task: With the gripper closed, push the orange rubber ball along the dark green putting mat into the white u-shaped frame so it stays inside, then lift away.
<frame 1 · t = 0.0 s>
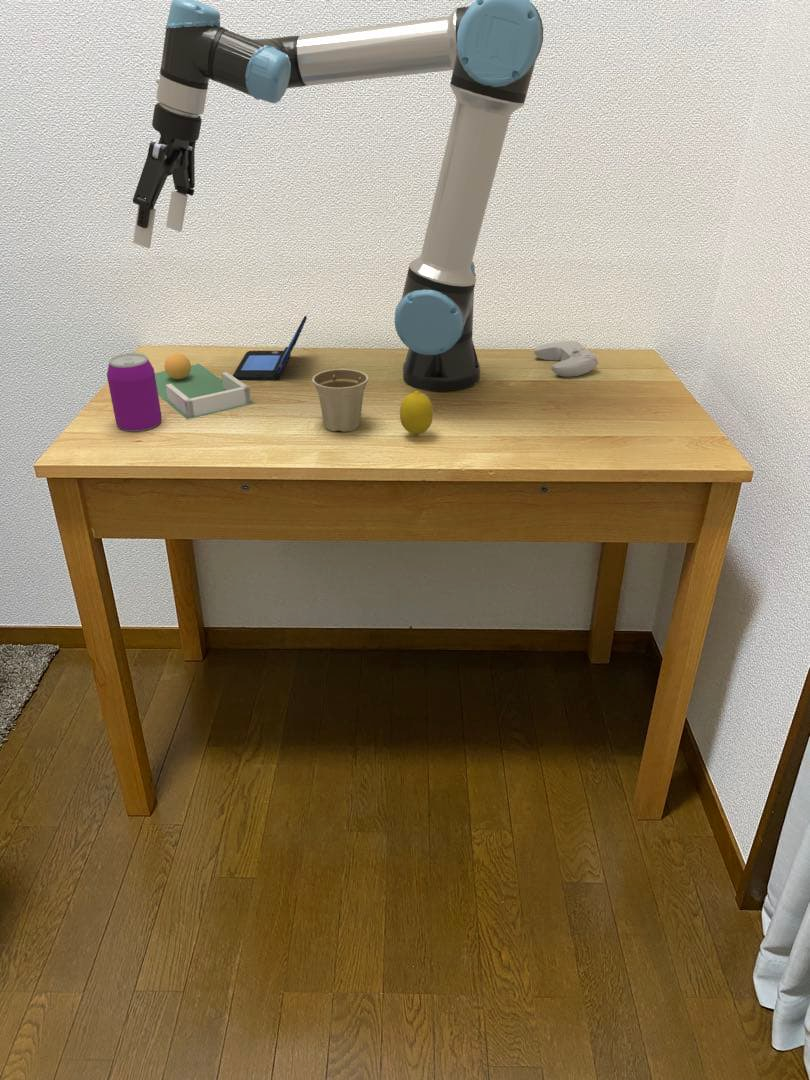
hand: (158, 236, 149), 28 cm above the table, fingers open, 13 cm apart
beverage can: (140, 426, 148), on the table
game controller: (565, 368, 173), on the table
putting mat: (193, 391, 162), on the table
lemon: (416, 436, 144), on the table
white u-shaped frame: (208, 400, 156), resting on putting mat
handheld game console: (272, 371, 173), on the table
flower pot: (342, 426, 148), on the table
orange ball: (177, 366, 165), point 3 cm above the table, touching putting mat
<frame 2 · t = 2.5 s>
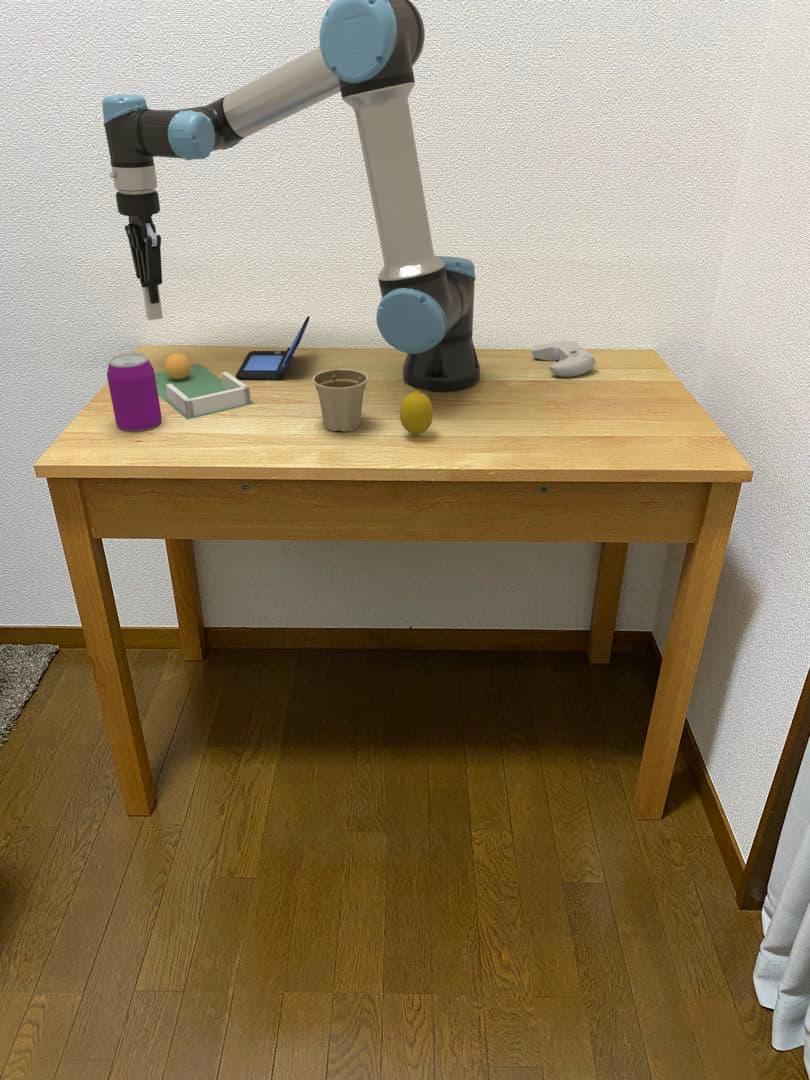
hand: (154, 318, 167), 10 cm above the table, fingers closed
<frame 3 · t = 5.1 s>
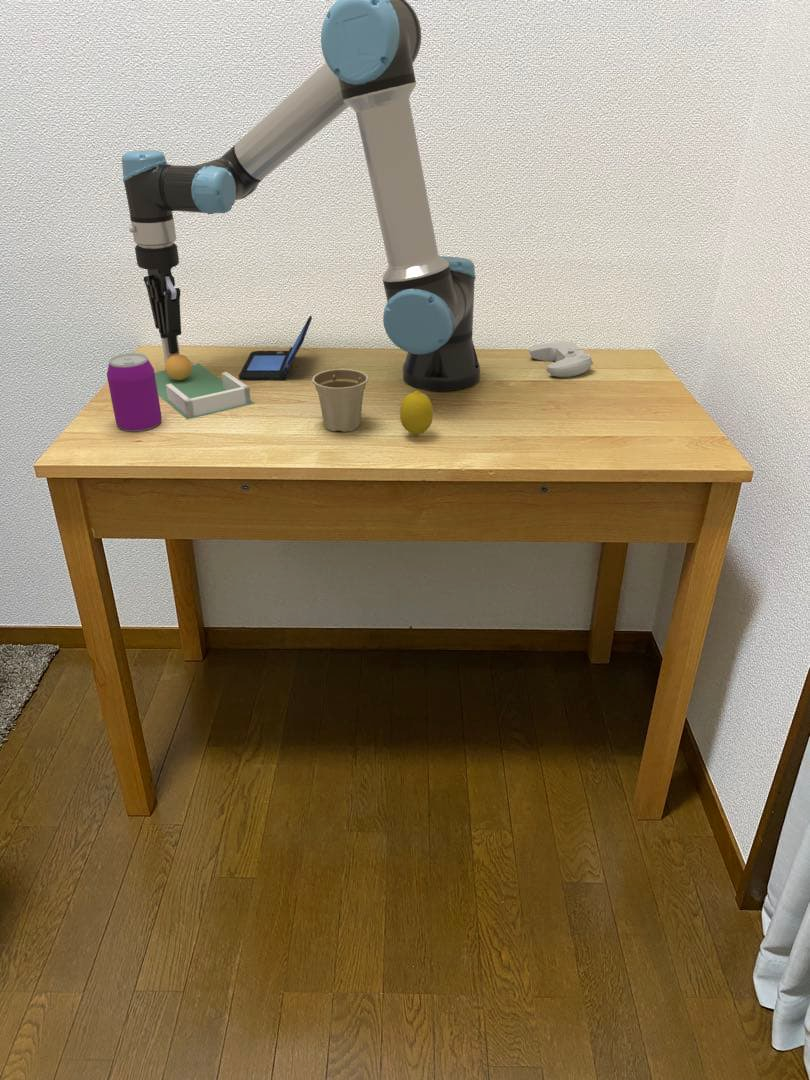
hand: (173, 367, 167), 2 cm above the table, fingers closed
orange ball: (178, 367, 165), point 3 cm above the table, tilted 13°, touching gripper, putting mat
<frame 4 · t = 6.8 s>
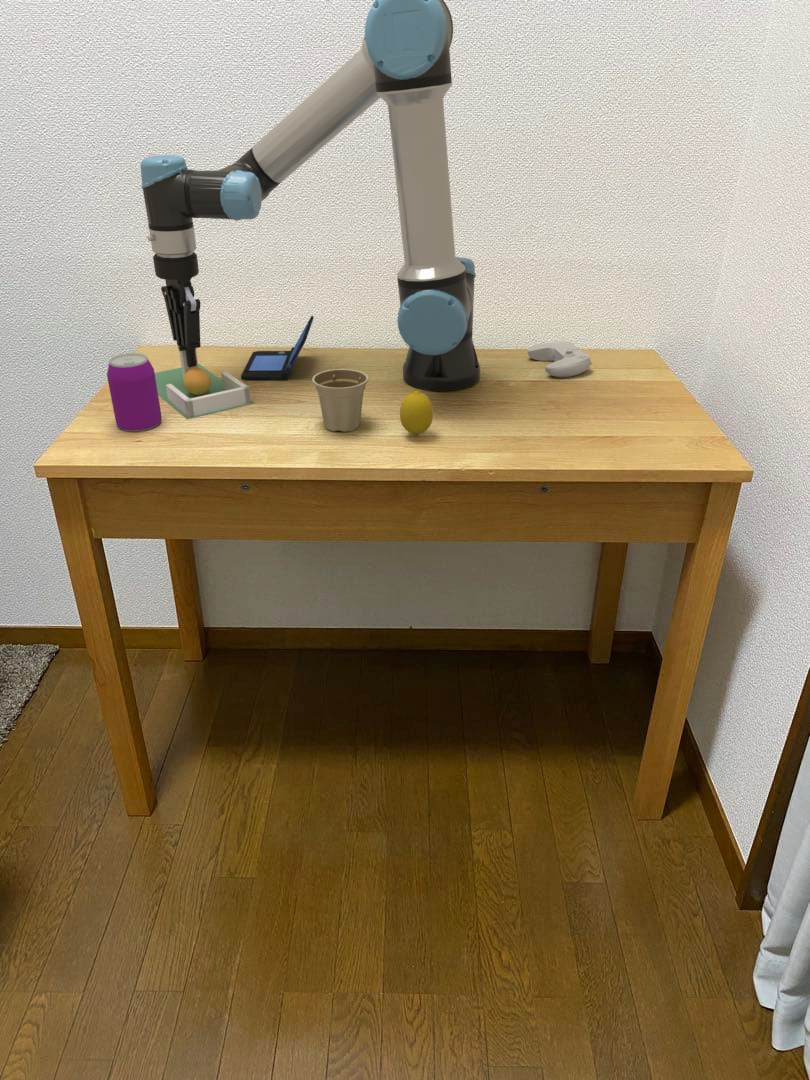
hand: (191, 381, 161), 2 cm above the table, fingers closed
orange ball: (197, 381, 158), point 3 cm above the table, tilted 163°, touching gripper, putting mat
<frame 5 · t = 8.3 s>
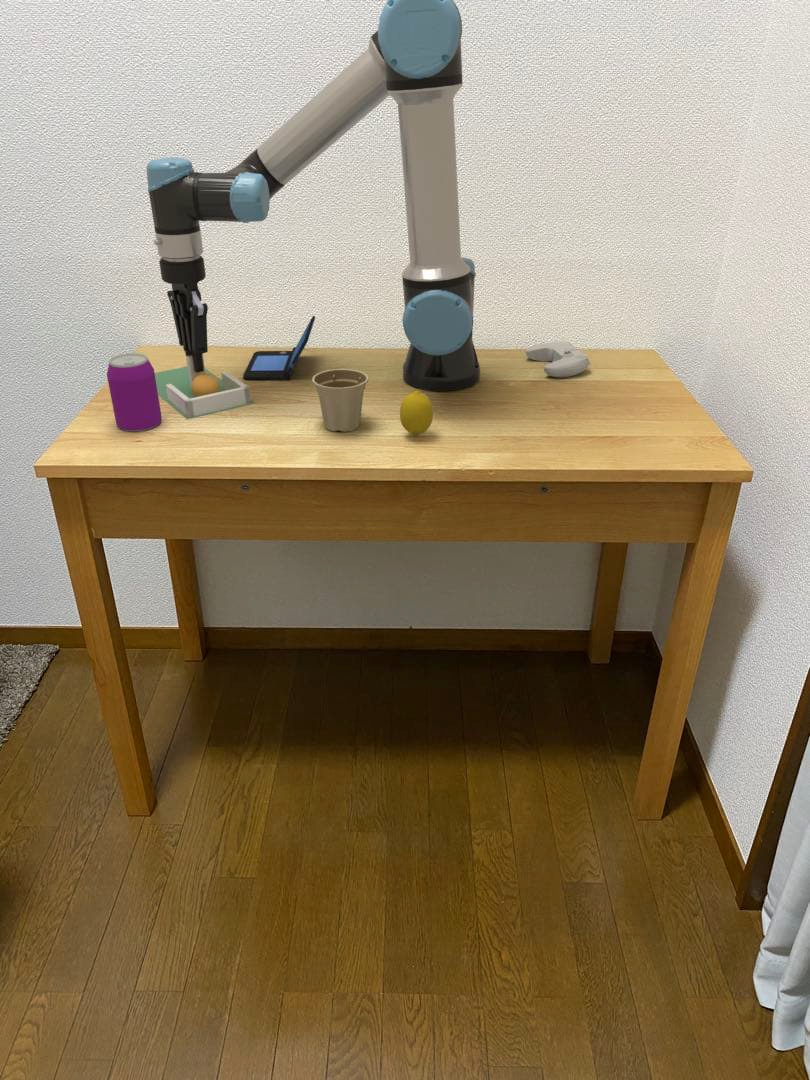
hand: (198, 386, 159), 2 cm above the table, fingers closed
orange ball: (205, 387, 155), point 3 cm above the table, tilted 88°, touching putting mat
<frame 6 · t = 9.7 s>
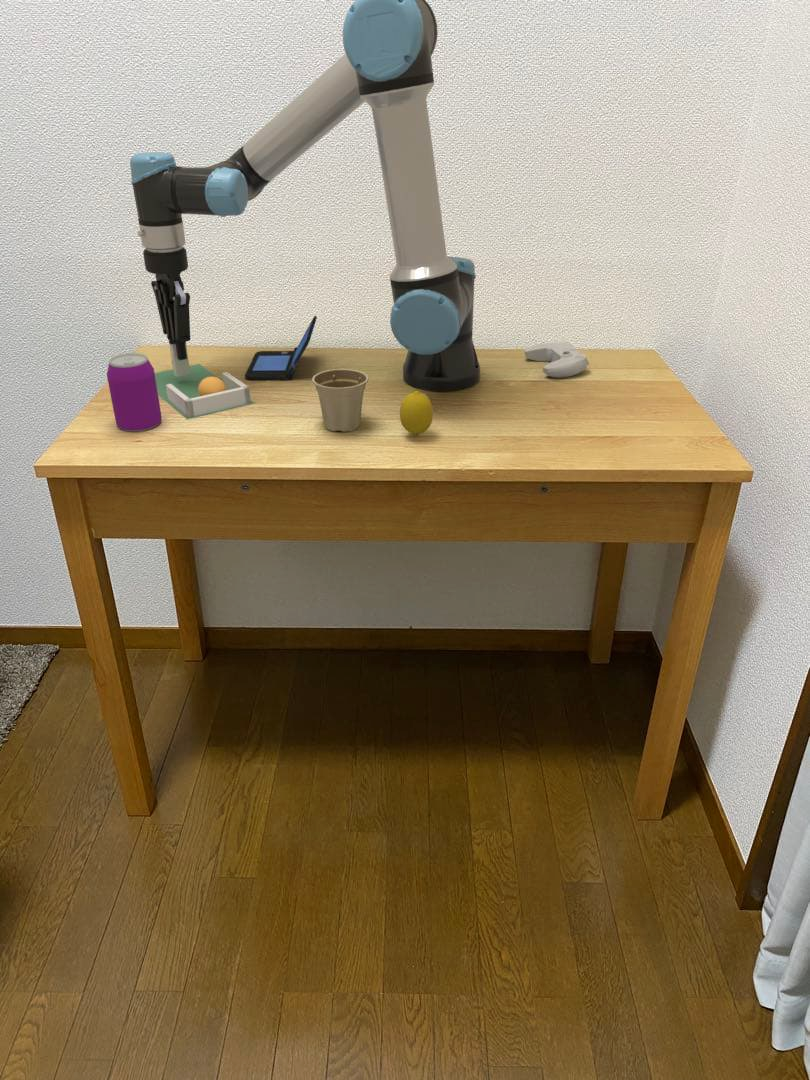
hand: (182, 374, 164), 2 cm above the table, fingers closed
orange ball: (212, 390, 154), point 3 cm above the table, tilted 40°, touching putting mat
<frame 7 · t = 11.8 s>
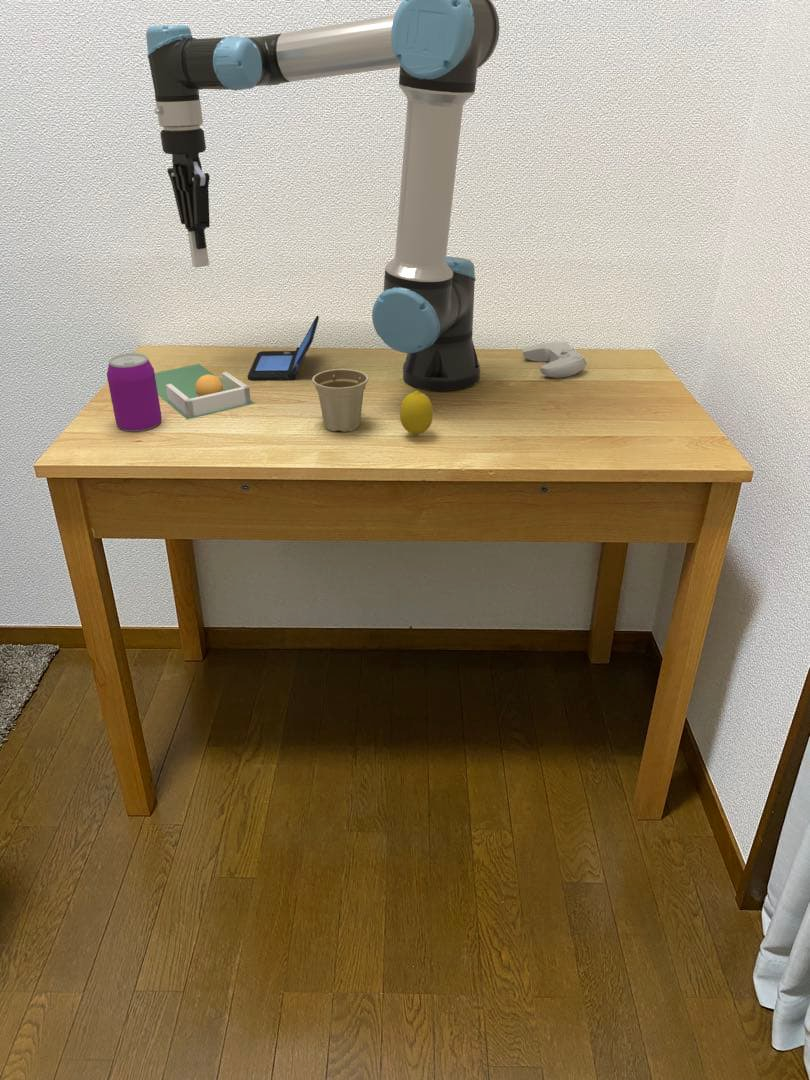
hand: (200, 265, 161), 21 cm above the table, fingers closed
orange ball: (209, 388, 155), point 3 cm above the table, tilted 70°, touching putting mat
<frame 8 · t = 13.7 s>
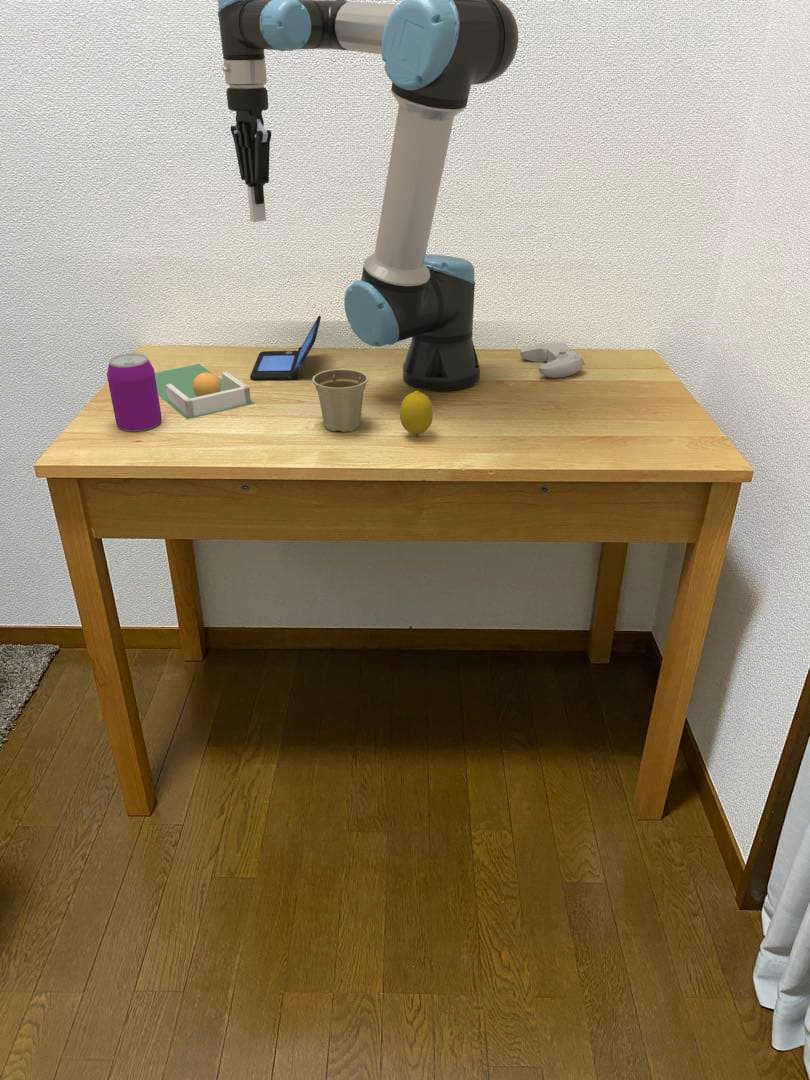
hand: (258, 220, 169), 26 cm above the table, fingers closed
orange ball: (206, 386, 156), point 3 cm above the table, tilted 97°, touching putting mat
at the end: orange ball 0.4 cm off-centre on the white u-shaped frame, point 2.5 cm above the white u-shaped frame's base; orange ball moved 13.2 cm from its start; the gripper is holding nothing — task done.
